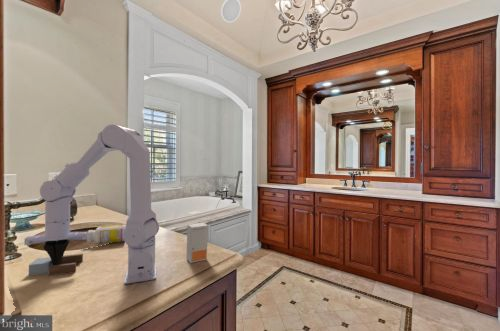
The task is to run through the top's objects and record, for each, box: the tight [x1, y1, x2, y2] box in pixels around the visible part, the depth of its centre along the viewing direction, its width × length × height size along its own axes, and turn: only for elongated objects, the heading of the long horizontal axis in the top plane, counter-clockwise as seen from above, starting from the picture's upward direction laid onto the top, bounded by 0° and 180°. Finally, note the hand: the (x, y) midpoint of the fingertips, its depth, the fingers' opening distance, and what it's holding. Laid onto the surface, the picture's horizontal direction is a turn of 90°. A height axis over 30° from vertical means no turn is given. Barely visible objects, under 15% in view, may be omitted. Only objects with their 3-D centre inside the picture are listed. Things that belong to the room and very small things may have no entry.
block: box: [28, 256, 53, 276], centre depth 67 cm, size 4×4×3 cm
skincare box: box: [186, 222, 209, 264], centre depth 78 cm, size 6×4×12 cm
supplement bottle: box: [86, 224, 126, 245], centre depth 91 cm, size 7×7×13 cm
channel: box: [48, 253, 84, 277], centre depth 69 cm, size 8×6×2 cm
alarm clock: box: [70, 196, 78, 221], centre depth 124 cm, size 11×5×16 cm, turn 58°
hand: (57, 265), depth 68 cm, fingers closed
